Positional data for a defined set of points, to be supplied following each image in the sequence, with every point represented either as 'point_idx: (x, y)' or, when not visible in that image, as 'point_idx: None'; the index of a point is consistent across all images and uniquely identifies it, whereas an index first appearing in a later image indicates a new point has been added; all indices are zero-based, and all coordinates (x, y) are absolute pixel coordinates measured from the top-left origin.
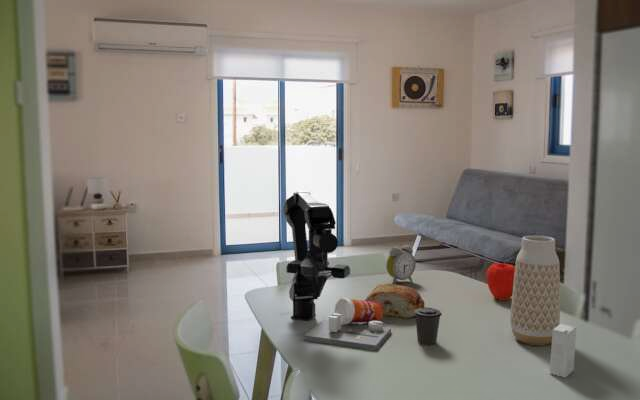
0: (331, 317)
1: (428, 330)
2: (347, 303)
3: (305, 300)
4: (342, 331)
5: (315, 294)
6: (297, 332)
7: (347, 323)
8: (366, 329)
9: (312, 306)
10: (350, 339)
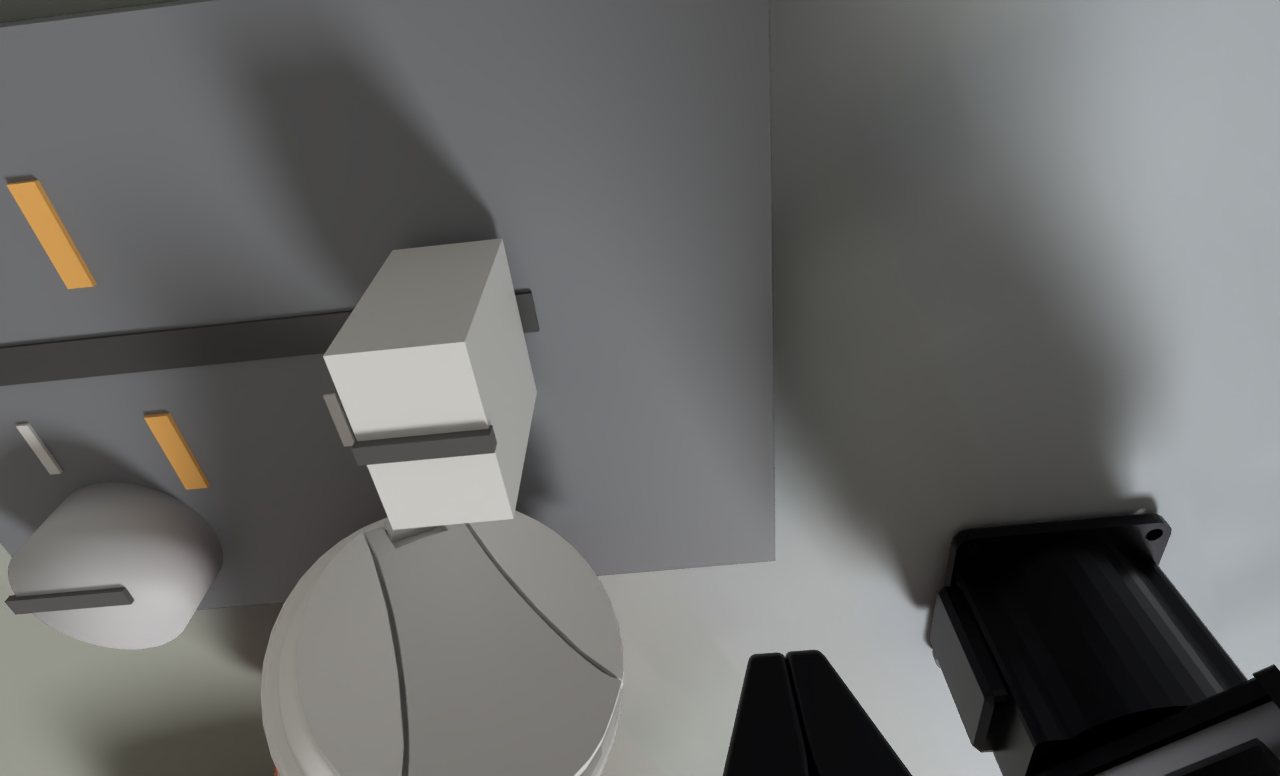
0: (414, 344)
1: None
2: (351, 746)
3: (1102, 738)
4: None
5: (850, 696)
6: (964, 177)
7: None
8: (212, 503)
9: (980, 689)
10: (76, 121)
